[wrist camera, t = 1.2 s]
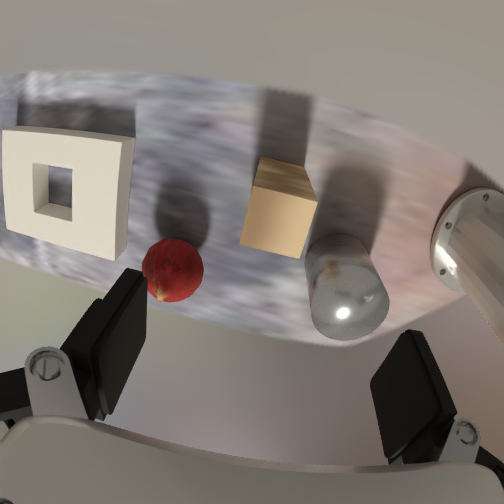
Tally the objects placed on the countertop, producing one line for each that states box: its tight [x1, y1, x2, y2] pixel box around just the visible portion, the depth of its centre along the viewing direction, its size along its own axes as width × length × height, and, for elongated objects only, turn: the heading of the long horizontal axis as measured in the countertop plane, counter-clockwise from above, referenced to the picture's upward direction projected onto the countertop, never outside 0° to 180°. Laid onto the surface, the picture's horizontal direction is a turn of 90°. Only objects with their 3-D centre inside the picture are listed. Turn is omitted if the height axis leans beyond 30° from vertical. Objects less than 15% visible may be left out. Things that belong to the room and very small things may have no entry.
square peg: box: [239, 156, 318, 259], centre depth 24 cm, size 4×4×10 cm
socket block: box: [2, 126, 136, 261], centre depth 28 cm, size 16×12×3 cm
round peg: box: [305, 233, 389, 341], centre depth 28 cm, size 7×7×8 cm
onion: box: [142, 239, 204, 302], centre depth 29 cm, size 6×6×8 cm
